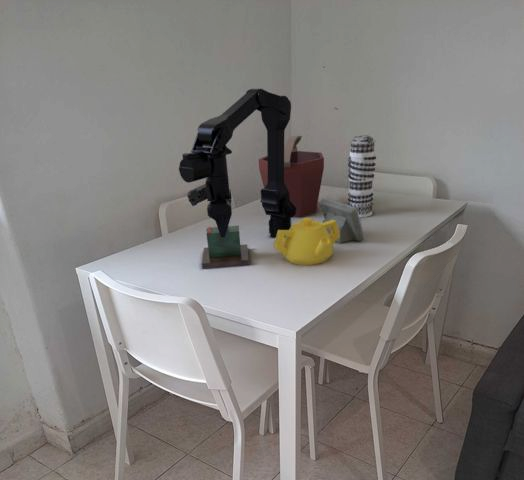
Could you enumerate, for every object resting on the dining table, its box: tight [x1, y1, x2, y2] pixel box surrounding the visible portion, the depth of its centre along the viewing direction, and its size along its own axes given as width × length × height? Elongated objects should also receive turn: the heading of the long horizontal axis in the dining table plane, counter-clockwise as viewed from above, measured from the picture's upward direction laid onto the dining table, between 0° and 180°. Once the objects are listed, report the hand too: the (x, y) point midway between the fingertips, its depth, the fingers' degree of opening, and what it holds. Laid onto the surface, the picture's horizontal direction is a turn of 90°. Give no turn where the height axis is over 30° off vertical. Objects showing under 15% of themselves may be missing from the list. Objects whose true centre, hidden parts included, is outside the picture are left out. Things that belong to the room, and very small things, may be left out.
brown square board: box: [201, 243, 250, 269], centre depth 142 cm, size 13×13×2 cm
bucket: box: [258, 135, 325, 218], centre depth 173 cm, size 24×22×25 cm
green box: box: [206, 224, 241, 258], centre depth 140 cm, size 9×6×7 cm, turn 93°
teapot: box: [273, 217, 340, 266], centre depth 135 cm, size 20×18×11 cm
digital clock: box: [319, 198, 365, 244], centre depth 150 cm, size 16×9×11 cm, turn 20°
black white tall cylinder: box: [346, 134, 377, 218], centre depth 165 cm, size 9×9×25 cm
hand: (223, 231), depth 139 cm, fingers open, 9 cm apart
